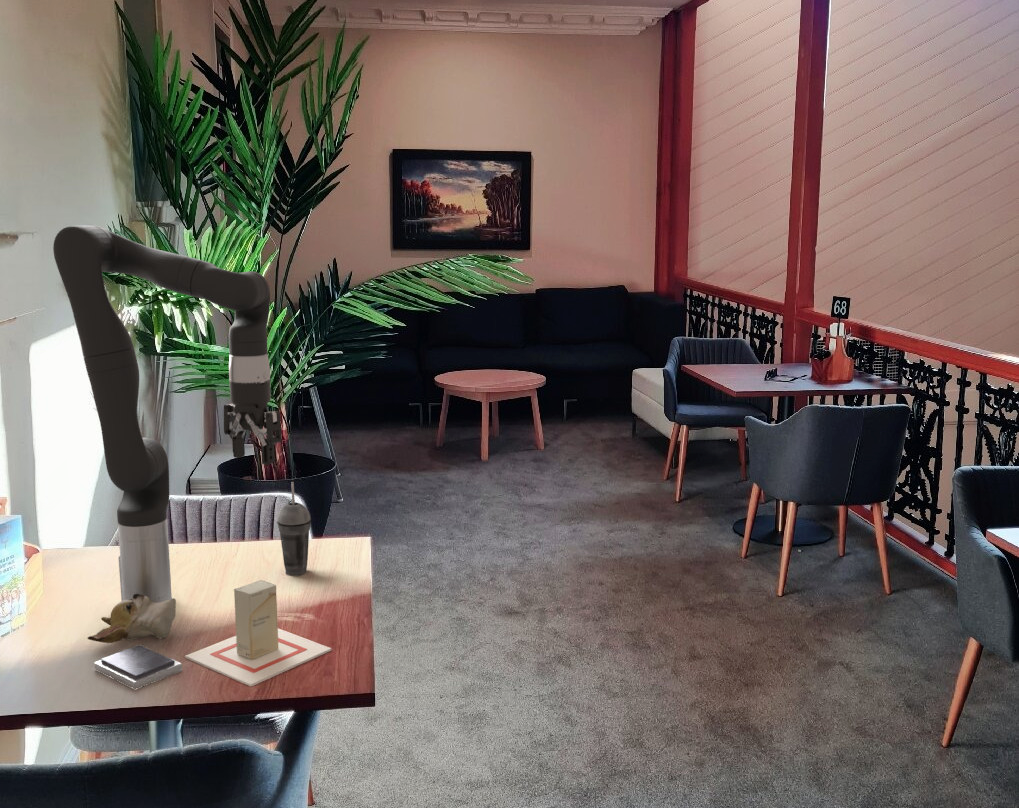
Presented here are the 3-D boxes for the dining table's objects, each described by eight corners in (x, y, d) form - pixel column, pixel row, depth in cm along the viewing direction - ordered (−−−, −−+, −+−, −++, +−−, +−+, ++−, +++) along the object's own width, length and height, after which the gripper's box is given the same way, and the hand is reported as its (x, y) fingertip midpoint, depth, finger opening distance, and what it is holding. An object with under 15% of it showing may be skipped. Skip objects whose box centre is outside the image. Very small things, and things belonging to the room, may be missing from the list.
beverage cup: (279, 579, 220) (276, 488, 216) (278, 568, 227) (274, 480, 223) (314, 576, 222) (311, 486, 218) (311, 565, 229) (308, 478, 225)
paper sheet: (185, 657, 181) (185, 655, 181) (266, 625, 195) (266, 623, 195) (250, 686, 171) (250, 683, 171) (331, 650, 185) (331, 647, 185)
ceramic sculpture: (168, 601, 184) (81, 609, 183) (174, 646, 186) (88, 654, 184) (180, 580, 195) (98, 588, 193) (185, 623, 196) (104, 631, 195)
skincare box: (251, 660, 179) (248, 594, 177) (235, 654, 182) (232, 589, 180) (280, 648, 184) (277, 584, 182) (263, 642, 187) (261, 579, 185)
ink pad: (94, 670, 176) (94, 659, 176) (141, 652, 184) (140, 642, 183) (135, 690, 169) (134, 678, 169) (181, 670, 176) (181, 660, 176)
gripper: (210, 376, 197) (214, 458, 200) (258, 384, 188) (261, 470, 191) (241, 371, 203) (245, 451, 206) (289, 379, 194) (293, 462, 197)
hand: (253, 460), depth 198 cm, fingers open, 8 cm apart
